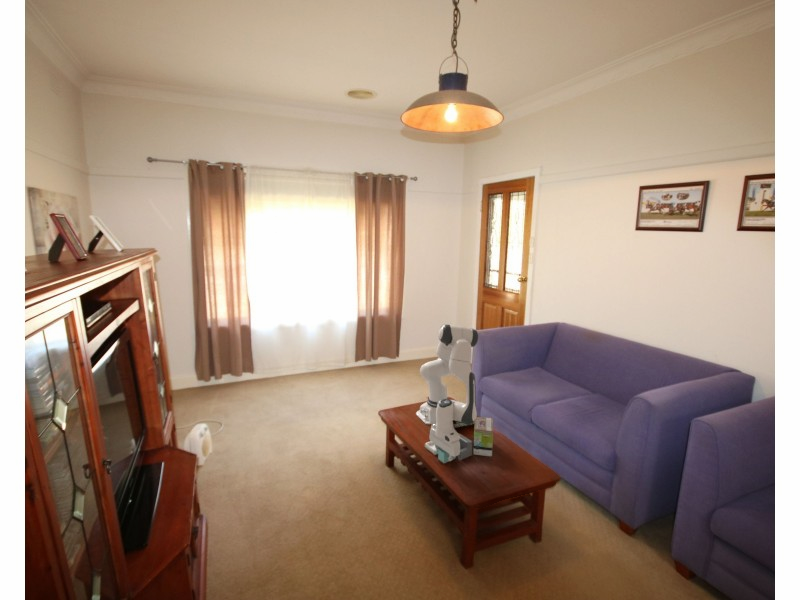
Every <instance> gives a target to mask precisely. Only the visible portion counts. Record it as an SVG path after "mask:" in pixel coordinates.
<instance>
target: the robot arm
mask: <svg viewBox="0 0 800 600" xmlns="http://www.w3.org/2000/svg"><path fill="white" fill-rule="evenodd" d="M438 340H439V342H438V344H437V347H436V350H435V353H436V355H437V357H438V358H437V359H435V360H431V361H427V362H426V363H423V364H422V365H421V366H420V369H419V373H420V376H421V378H422V380H425V381H426V383H427V385H428V396H427V397H426V400H427V401H426V402H423V404H421V405H420V407H419V410H417V411H416V412H415V415H416V416H417V417H418V419H420V420H421V421H422V422H423V423H424V424H425V425H431V426H430V430H429V436H428V437H429V440H430V441H432V442H433V443H434V445H435V448H436V452H438V447H440V448H442V449H443V450H445V451H446V452H447V453H449V455H450V456H449V457H448V460H449V461H448V462H451V461H453V460H452V457H458V455H459V454H460V442H459V439H460V435H459V434H458V432H457V430H456V429H455V428H454V422H453V421H456V422H459V423H462V424H464V425H467V426H469V425H471V424H474V423H475V420H476V417H478V412H477V411H478V409H477V401H476V400H477V395H476V393H477V392H476V389H477V388H476V386H477V385H476V376H475V374H474V373H473V372H472V367H471V361H472V348H474V347H476V345H477V344H478V342H479V332H478V331H477V330H476V329H474V328H471V327H467V326H463V325H452V324H442V325H441V326H440V328H439V330H438ZM450 375H453V377H455V378H457V379H458V380H459V381H460V382H462V383H463V384H464V385H465V390H466V391H465V392H466V393H465V395H466V397H465V399H466V400H465V401H466V403H465V402H461V401H458V400H453V399H449V398H448V386H447V385H446V384H445V383H444V382H442V378H445V377H447V376H450ZM430 441H429V442H430Z"/></svg>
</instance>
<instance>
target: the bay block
mask: <svg viewBox="0 0 800 600" xmlns="http://www.w3.org/2000/svg"><path fill="white" fill-rule="evenodd" d="M457 433H458V432H457ZM458 434H459V435H460V439H459V442H460V454H459V455H458V456H457V458H458V460H459V461H462V460H464V459H467V458H469V457H471V456H472V455H473V440H471V439H469V438H468V437H466V436H464V435H463V434H461V433H458Z"/></svg>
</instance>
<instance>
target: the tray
mask: <svg viewBox="0 0 800 600" xmlns="http://www.w3.org/2000/svg"><path fill="white" fill-rule="evenodd" d="M424 448H425V449H426V450H428V451H429V452H430V453H432V454H433V455H438V452H436V448H435V445H434V443H433V442H432V441H428V442H427V441H426V442H425V443H424Z"/></svg>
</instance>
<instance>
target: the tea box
mask: <svg viewBox="0 0 800 600" xmlns="http://www.w3.org/2000/svg"><path fill="white" fill-rule="evenodd" d="M473 429H474V430H473V446H472V455H476V456H483V457H484V456H485V457H492V456H493V449H494V447H493V444H494V433H495V431H494V419H493V417H483V416H482V417H481V416H477V417H476V420H475V422H474V427H473Z"/></svg>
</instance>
